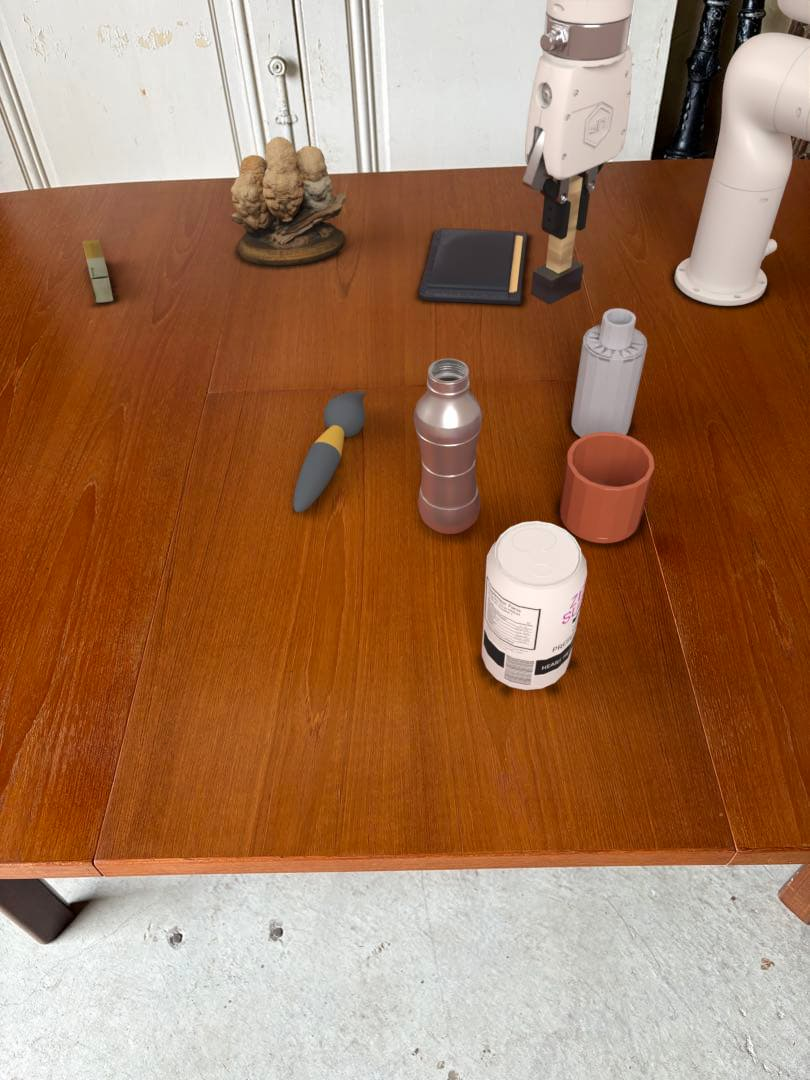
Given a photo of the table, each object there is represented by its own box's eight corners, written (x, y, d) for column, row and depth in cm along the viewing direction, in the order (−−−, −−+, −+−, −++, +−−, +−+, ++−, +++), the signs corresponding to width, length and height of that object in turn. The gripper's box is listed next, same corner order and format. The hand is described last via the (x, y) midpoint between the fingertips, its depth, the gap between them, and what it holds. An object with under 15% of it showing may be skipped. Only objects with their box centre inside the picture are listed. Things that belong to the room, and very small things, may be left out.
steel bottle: (598, 399, 101) (616, 292, 90) (640, 426, 98) (665, 318, 86) (559, 423, 99) (573, 315, 87) (601, 451, 95) (622, 343, 84)
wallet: (435, 220, 129) (532, 225, 127) (435, 231, 131) (531, 237, 128) (413, 288, 116) (520, 295, 114) (414, 300, 118) (519, 307, 115)
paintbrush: (330, 524, 89) (325, 491, 85) (287, 518, 90) (280, 485, 86) (375, 410, 102) (372, 377, 98) (337, 405, 103) (333, 373, 99)
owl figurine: (348, 223, 134) (337, 114, 121) (353, 260, 126) (342, 147, 113) (238, 233, 133) (216, 124, 120) (236, 271, 125) (212, 159, 112)
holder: (597, 475, 92) (607, 420, 86) (656, 516, 88) (672, 462, 82) (543, 510, 89) (549, 457, 83) (602, 556, 84) (613, 502, 78)
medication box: (115, 301, 121) (109, 277, 118) (96, 304, 120) (90, 279, 117) (104, 261, 128) (99, 237, 125) (86, 263, 127) (80, 239, 124)
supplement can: (475, 625, 79) (479, 520, 68) (559, 617, 80) (577, 512, 68) (488, 697, 74) (494, 597, 63) (577, 689, 74) (600, 587, 63)
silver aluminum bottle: (475, 545, 86) (480, 395, 71) (412, 537, 87) (405, 388, 72) (483, 502, 90) (490, 352, 75) (423, 495, 91) (418, 346, 76)
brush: (561, 278, 94) (575, 165, 84) (580, 289, 92) (596, 174, 83) (530, 294, 92) (540, 179, 82) (549, 305, 91) (562, 189, 81)
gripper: (553, 68, 68) (534, 269, 82) (676, 24, 74) (640, 218, 88) (492, 46, 72) (483, 241, 86) (614, 6, 78) (588, 194, 92)
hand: (563, 228), depth 87 cm, fingers closed on brush, 2 cm apart
